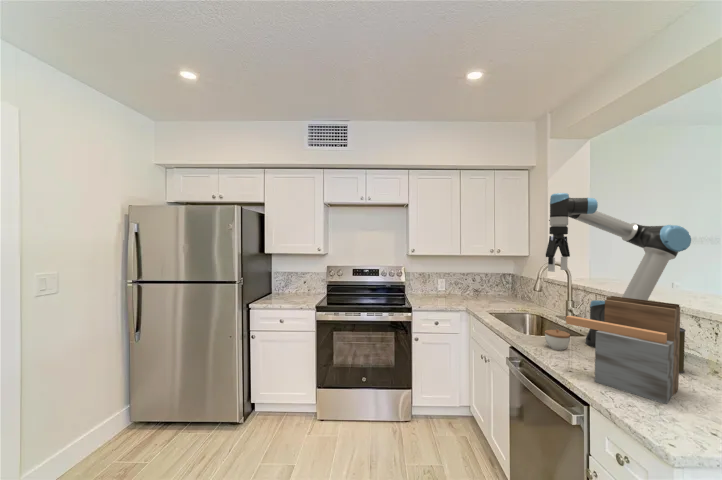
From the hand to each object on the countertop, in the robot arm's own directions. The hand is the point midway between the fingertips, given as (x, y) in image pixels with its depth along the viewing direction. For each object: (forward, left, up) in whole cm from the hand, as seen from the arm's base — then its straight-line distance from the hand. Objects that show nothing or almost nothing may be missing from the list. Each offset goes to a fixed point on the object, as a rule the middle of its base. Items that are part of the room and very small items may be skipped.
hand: (557, 270), depth 154 cm
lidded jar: (-6, -2, -39) cm, 39 cm away
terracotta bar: (+19, +27, -20) cm, 38 cm away
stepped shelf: (+14, +33, -39) cm, 53 cm away
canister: (-18, +36, -39) cm, 56 cm away
